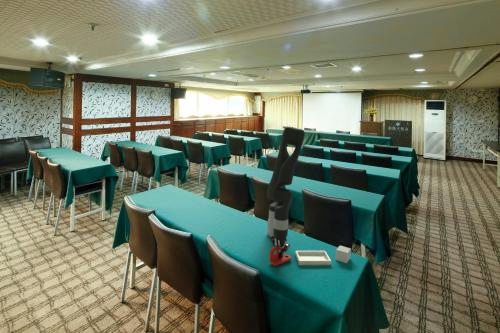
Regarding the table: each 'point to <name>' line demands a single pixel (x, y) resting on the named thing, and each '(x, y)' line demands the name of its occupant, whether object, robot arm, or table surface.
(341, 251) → the white cube
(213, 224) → the table surface
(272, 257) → the bracket
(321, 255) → the holder tray
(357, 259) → the table surface
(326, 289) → the table surface
